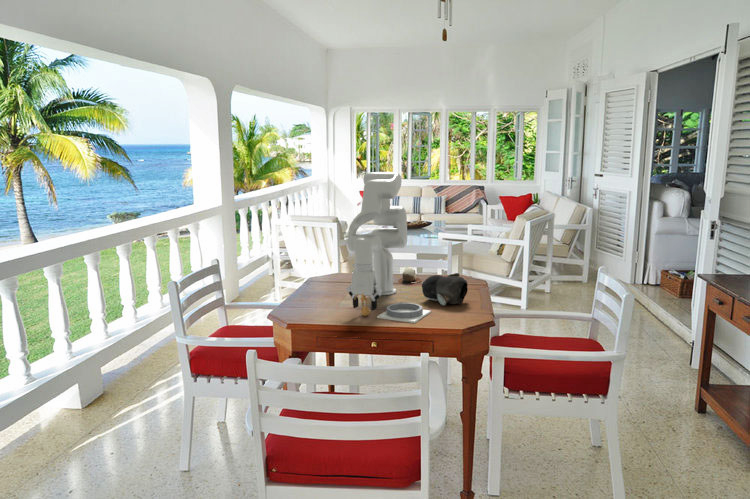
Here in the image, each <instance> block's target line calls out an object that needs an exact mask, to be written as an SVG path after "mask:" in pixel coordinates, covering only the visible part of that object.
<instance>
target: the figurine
mask: <svg viewBox="0 0 750 499" xmlns="http://www.w3.org/2000/svg"><path fill="white" fill-rule="evenodd" d="M360 296H361V298H360V300H361V305H362V308H360V314H361V315H362V316H363V317H367V316H369V315H370V313H371V309H370V308H369V307H368V302H369V301H368V297H367V296H365V295H363V293H362V295H360ZM356 297H359V295H358V294H357V295H356V296H355V299H356ZM355 299H354V300H355ZM364 301H365V306H364Z"/></svg>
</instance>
